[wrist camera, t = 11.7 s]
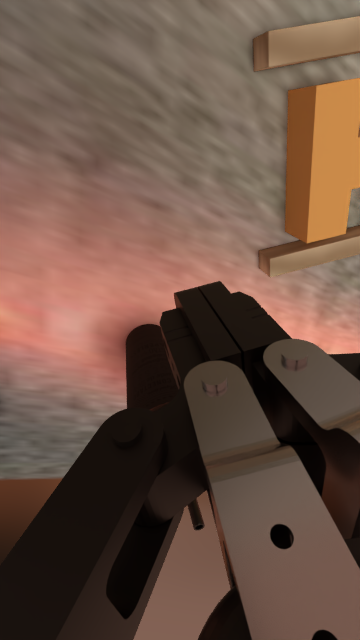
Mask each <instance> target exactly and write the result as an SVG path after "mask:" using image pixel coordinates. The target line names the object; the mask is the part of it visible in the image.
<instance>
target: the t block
mask: <svg viewBox="0 0 360 640" xmlns="http://www.w3.org/2000/svg"><path fill="white" fill-rule="evenodd" d="M359 124H360V78H356V79H350V80H344V81H338V82H332V83H326V84H321V85H315V86H310V87H305V88H299V89H294V90H288V127H287V170H286V213H285V232H287V233H289V234H291V235H292V236H294V237H296V238H298V239H300V240H302V241H303V242H305V243H310V242H315V241H319V240H323V239H327V238H331V237H335V236H339V235H343V234H346V228H347V220H348V212H349V204H350V196H351V189H355V188H359V187H360V130H359Z"/></svg>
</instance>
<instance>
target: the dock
mask: <svg viewBox="0 0 360 640" xmlns="http://www.w3.org/2000/svg"><path fill="white" fill-rule="evenodd" d="M253 50H254V72H255V71H260V70H266V69H271V68H277V67H282V66H288V65H294V64H299V63H305V62H310V61H316V60H322V59H327V58H333V57H338V56H344V55H349V54H355V53H360V16H358V17H352V18H346V19H339V20H333V21H327V22H321V23H315V24H309V25H303V26H297V27H291V28H285V29H279V30H272V31H268V32H266V33H264V34H262V35H260V36H258V37H256V38H254V39H253ZM358 254H360V225H359V226H355V227H351V228H347V229H346V234H343V235H339V236H335V237H331V238H327V239H323V240H319V241H315V242H310V243H305V242H303V241H302V240H299V241H295V242H291V243H287V244H283V245H279V246H275V247H271V248H267V249H263V250H259V268H260V269H261V270H262V271H263V272H264V273H265V274H267V275H268V276H269V277H274V276H277V275H281V274H285V273H289V272H293V271H297V270H300V269H304V268H308V267H312V266H316V265H319V264H323V263H327V262H331V261H335V260H339V259H342V258H346V257H350V256H354V255H358Z"/></svg>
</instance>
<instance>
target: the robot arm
mask: <svg viewBox="0 0 360 640" xmlns="http://www.w3.org/2000/svg"><path fill="white" fill-rule="evenodd" d="M174 299H175V305H176V309H172V310H169V311H165V312H163V313H162V316H161V320H160V327H161V331H162V335H163V340H164V344H165V348H166V353H167V357H168V361H169V364H170V367H171V369H172V372H173V375H174V378H175V380H176V384H177V386H178V389H179V391H178V393H177V394H176V396H175V397H174V398H173V399H172V400H171V401H170V402H169V403H168V404H167V405H165V406H164V407H162V408H161V409H159V410H158V411H156V412H153V411H151V410H149V409H146V408H128V409H124V410H122V411H119V412H117V413H115V414H114V415H112V416H111V417H109V418H108V419H107V420H106V421H105V422H104V423H103V424H102V425H101V427H100V428H99V429H98V431H97V432H96V433H95V435H94V436H93V438H92V439H91V440H90V442H89V443H88V445H87V446H86V447H85V449H84V450H83V451H82V453H81V454H80V456H79V457H78V458H77V460H76V461H75V463H74V464H73V465H72V467H71V468H70V469H69V471H68V472H67V474H66V475H65V476H64V478H63V479H62V481H61V482H60V483H59V485H58V486H57V488H56V489H55V490H54V492H53V493H52V494H51V496H50V497H49V499H48V500H47V501H46V503H45V504H44V506H43V507H42V508H41V510H40V511H39V513H38V514H37V515H36V517H35V518H34V519H33V521H32V522H31V524H30V525H29V526H28V528H27V529H26V530H25V532H24V533H23V535H22V536H21V537H20V539H19V540H18V542H17V543H16V544H15V546H14V547H13V548H12V550H11V551H10V553H9V554H8V555H7V557H6V558H5V560H4V561H3V562H2V564H1V565H0V640H133V639H134V636H135V634H136V631H137V629H138V626H139V624H140V621H141V619H142V616H143V613H144V611H145V608H146V606H147V603H148V601H149V598H150V596H151V593H152V591H153V588H154V586H155V583H156V581H157V578H158V576H159V573H160V570H161V568H162V565H163V563H164V560H165V558H166V555H167V553H168V550H169V548H170V545H171V543H172V540H173V538H174V535H175V532H176V530H177V528H178V525H179V523H180V520H181V517H182V514H183V511H184V507H186V506H187V505H188V504H189V503H191V502H192V501H193V500H195V499H196V498H197V497H198V496H200V495H201V494H202V493H203V492H205V491H206V490H207V494H208V498H209V502H210V506H211V510H212V514H213V518H214V522H215V526H216V530H217V534H218V538H219V542H220V547H221V551H222V556H223V560H224V564H225V568H226V572H227V577H228V581H229V585H230V589H231V590H230V591H229V592H228V593H227V594H226V595H225V596H224V597H223V599H222V600H221V601H220V602H219V603H218V604H217V606H216V607H215V609H214V610H213V612H212V613H211V615H210V616H209V618H208V620H207V622H206V624H205V625H204V627H203V629H202V631H201V633H200V635H199V638H198V640H360V353H352V354H327V353H325V352H324V351H323V350H322V349H321V348H319V347H318V346H317V345H315V344H313V343H310V342H308V341H304V340H299V339H292V338H291V337H290V336H289V335H288V334H287V333H286V332H285V331H284V330H283V329H282V328H281V327H280V326H279V325H278V324H277V323H276V321H275V320H274V319H273V318H272V317H271V316H270V315H268V314H267V312H266V311H265V310H264V309H263V308H261V306H260V305H259V304H258V303H257V302H256V300H255V299H254V298H253V297H251V296H248V295H246V294H244V293H242V292H236V293H232V294H231V293H230V292H229V291H228V290H227V288H226V287H225V286H224V285H223V284H222V282H220V281H218V282H214V283H210V284H206V285H203V286H199V287H195V288H191V289H188V290H184V291H180V292H176V293H174Z"/></svg>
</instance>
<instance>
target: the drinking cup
mask: <svg viewBox="0 0 360 640" xmlns="http://www.w3.org/2000/svg"><path fill="white" fill-rule="evenodd" d="M126 380H127V409H128V408H146V409H149V410H151V411H153V412H156V411H158V410H159V409H161V408H162V407H164V406H165V405H167V404H168V403H169V402H170V401H171V400H172V399H173V398H174V397H175V396H176V394H177V393H178V391H179V389H178V386H177V384H176V380H175V378H174V375H173V372H172V369H171V367H170V364H169V361H168V357H167V353H166V348H165V344H164V340H163V335H162V331H161V327H160V326H157V325H153V324H147V325H142V326H139V327H137V328H136V329H134V330H133V331H132V332H131V333H130V334H129V336H128V337H127V340H126ZM188 509H189V512H190V516H191V520H192V524H193V527H194V530H201V529H203V528H204V522H203V519H202V515H201V512H200V508H199V505H198V502H197V498H196V499H195V500H193V501H192V502H191V503H189V504H188Z"/></svg>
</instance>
